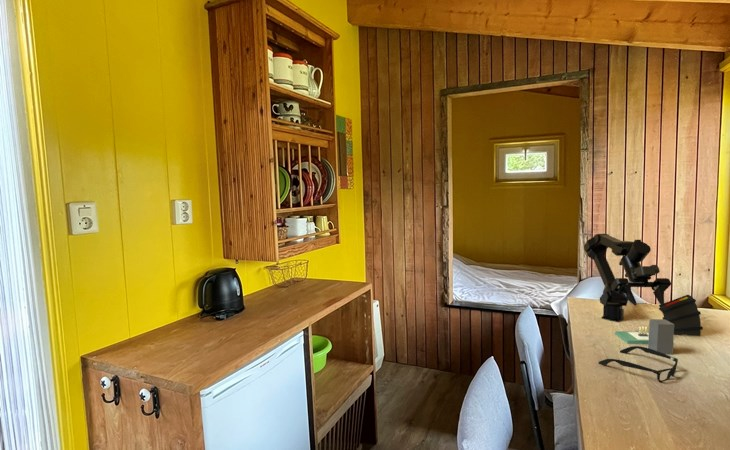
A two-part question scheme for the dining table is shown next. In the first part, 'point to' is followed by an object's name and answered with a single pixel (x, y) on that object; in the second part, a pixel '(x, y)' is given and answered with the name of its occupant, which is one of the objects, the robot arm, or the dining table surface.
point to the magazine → (683, 315)
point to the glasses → (632, 365)
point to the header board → (634, 336)
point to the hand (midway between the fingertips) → (649, 305)
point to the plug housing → (661, 336)
